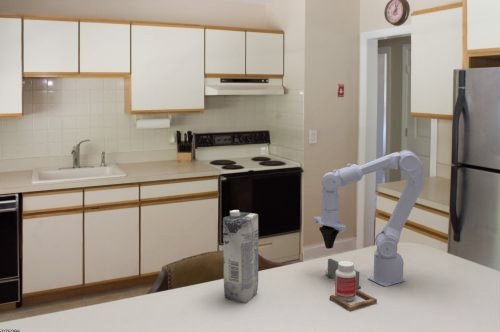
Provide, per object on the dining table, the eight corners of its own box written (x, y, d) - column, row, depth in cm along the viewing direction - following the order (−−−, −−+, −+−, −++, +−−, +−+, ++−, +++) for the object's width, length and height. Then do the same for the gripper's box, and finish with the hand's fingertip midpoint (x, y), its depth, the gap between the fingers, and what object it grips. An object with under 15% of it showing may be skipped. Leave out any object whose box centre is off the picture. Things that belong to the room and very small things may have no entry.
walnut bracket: (355, 292, 147) (355, 288, 147) (376, 303, 139) (376, 299, 139) (329, 299, 142) (329, 295, 142) (350, 311, 134) (350, 307, 134)
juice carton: (261, 292, 148) (261, 208, 144) (247, 305, 138) (246, 216, 134) (236, 287, 152) (235, 206, 148) (220, 300, 142) (219, 213, 138)
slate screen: (332, 274, 162) (332, 258, 161) (360, 288, 150) (361, 271, 149) (325, 276, 160) (325, 259, 159) (353, 290, 148) (354, 272, 147)
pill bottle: (359, 300, 141) (360, 265, 140) (340, 303, 140) (341, 268, 138) (349, 292, 147) (350, 258, 145) (331, 295, 145) (332, 261, 144)
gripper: (307, 205, 160) (306, 243, 162) (335, 214, 148) (334, 256, 150) (323, 203, 164) (322, 240, 166) (351, 211, 151) (350, 252, 153)
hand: (329, 247), depth 158 cm, fingers closed
